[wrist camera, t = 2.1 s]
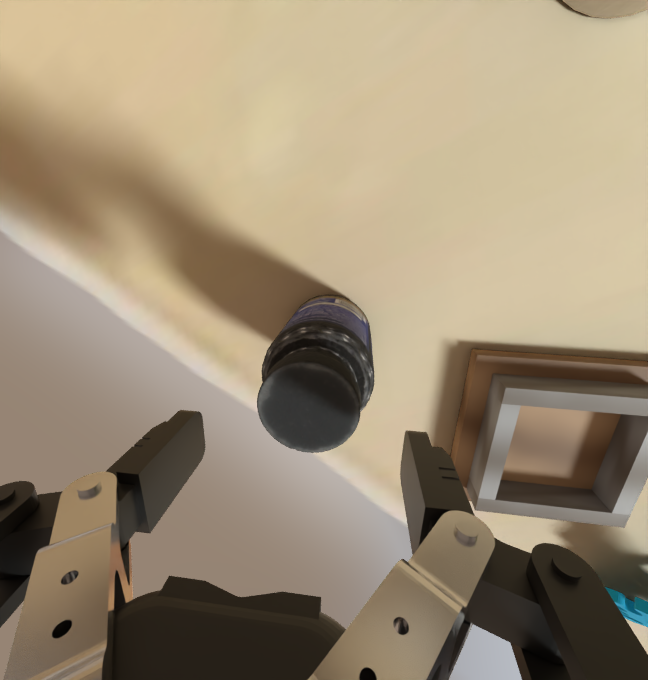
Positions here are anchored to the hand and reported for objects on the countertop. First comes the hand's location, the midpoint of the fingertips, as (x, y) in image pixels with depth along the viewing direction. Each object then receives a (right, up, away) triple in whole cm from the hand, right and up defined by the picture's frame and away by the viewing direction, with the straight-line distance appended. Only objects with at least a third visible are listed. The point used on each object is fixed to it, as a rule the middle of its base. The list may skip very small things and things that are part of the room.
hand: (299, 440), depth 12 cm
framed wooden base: (+18, -3, +13) cm, 22 cm away
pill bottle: (+1, +5, +12) cm, 13 cm away
